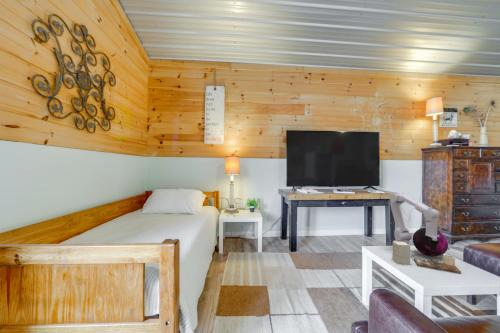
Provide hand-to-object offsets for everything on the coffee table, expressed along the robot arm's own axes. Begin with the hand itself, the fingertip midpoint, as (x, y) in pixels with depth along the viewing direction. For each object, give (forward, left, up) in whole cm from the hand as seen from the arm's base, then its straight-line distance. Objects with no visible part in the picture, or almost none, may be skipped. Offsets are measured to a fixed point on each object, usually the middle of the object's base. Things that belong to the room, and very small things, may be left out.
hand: (431, 248), depth 143 cm
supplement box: (-17, -5, -11) cm, 21 cm away
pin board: (+2, -2, -10) cm, 11 cm away
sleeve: (+8, -2, -9) cm, 12 cm away
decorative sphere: (+4, +20, -11) cm, 23 cm away
